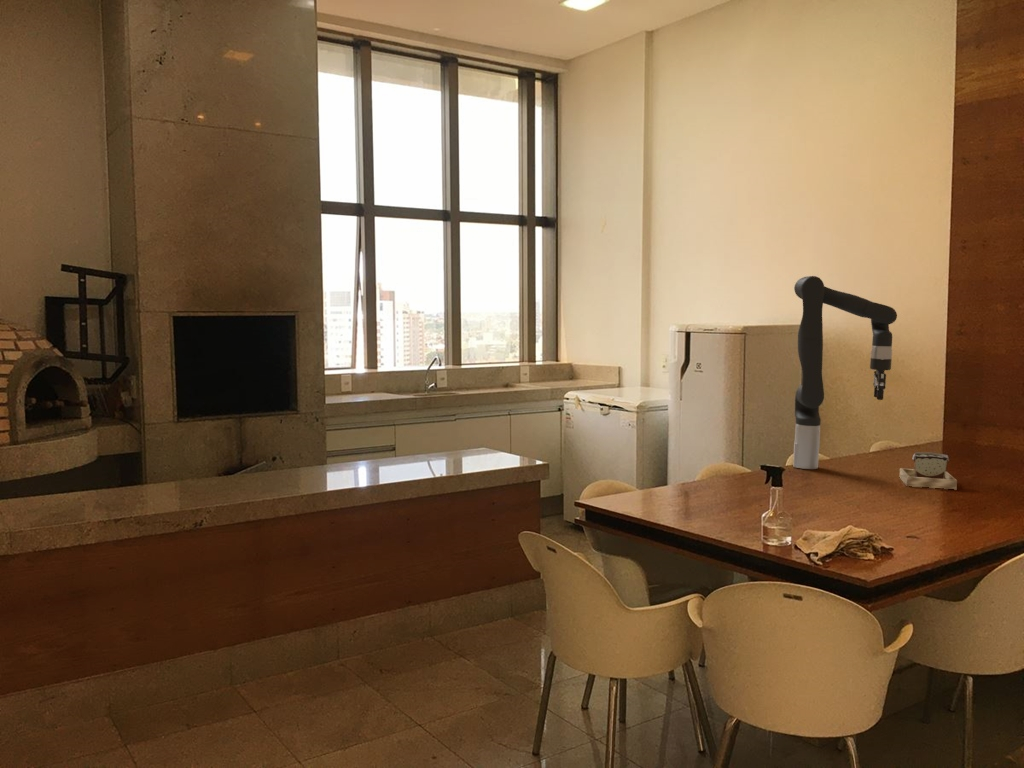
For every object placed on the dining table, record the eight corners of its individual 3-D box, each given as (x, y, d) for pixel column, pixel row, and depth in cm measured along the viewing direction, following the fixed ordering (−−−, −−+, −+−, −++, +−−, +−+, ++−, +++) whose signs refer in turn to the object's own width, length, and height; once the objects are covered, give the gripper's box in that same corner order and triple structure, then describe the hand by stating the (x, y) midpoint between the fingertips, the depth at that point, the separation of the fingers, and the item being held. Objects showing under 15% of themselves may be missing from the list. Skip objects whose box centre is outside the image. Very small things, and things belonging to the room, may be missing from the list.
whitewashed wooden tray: (906, 486, 290) (907, 476, 290) (899, 477, 305) (899, 468, 305) (956, 490, 285) (957, 480, 285) (946, 480, 301) (947, 471, 300)
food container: (940, 479, 298) (942, 452, 297) (947, 483, 292) (949, 455, 291) (905, 478, 300) (907, 451, 299) (911, 481, 294) (913, 454, 293)
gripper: (868, 356, 325) (865, 396, 327) (873, 358, 311) (870, 400, 313) (888, 356, 323) (886, 397, 324) (894, 359, 309) (891, 401, 311)
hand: (878, 398), depth 319 cm, fingers open, 8 cm apart
